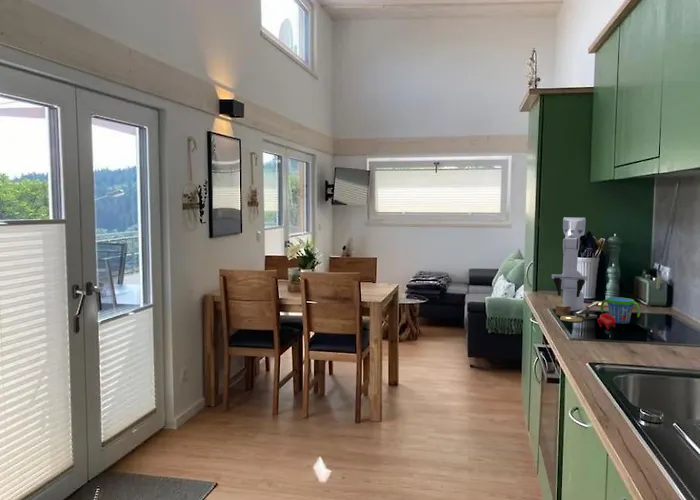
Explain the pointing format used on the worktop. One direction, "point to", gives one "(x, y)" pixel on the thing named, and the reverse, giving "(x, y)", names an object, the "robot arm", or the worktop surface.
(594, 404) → the worktop surface
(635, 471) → the worktop surface
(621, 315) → the snack cup
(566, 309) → the block
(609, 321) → the red toy piece
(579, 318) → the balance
